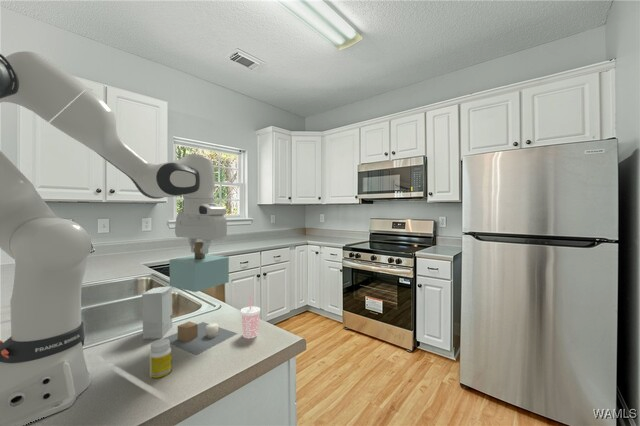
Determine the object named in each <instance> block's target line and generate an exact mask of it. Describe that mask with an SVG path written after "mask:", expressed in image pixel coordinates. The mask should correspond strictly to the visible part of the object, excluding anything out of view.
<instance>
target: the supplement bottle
mask: <svg viewBox="0 0 640 426" xmlns="http://www.w3.org/2000/svg"><path fill="white" fill-rule="evenodd" d="M170 345H171V344H170V340H169V339H163V338H159V339H157V340H155V341H153V342H151V343H150V351H149V354H148V358H149V359H148V364H149V365H148V371H149V372H148V374H149V378H151V379H162V378H164V377H166V376H169V375H170V374H171V372H172V360H173V359H172V355H173V353H172V347H170Z"/></svg>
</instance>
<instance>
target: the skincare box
mask: <svg viewBox="0 0 640 426" xmlns="http://www.w3.org/2000/svg"><path fill="white" fill-rule="evenodd" d="M141 295H142V296H141V300H142V303H141V304H142V306H141V307H142V310H141V311H142V340H152V339H163V338H165V336H166V334H167V333H168V332H169V331H170V330H171V329H172V328H173V300H172V296H173V295H172V286H159V287H153V288H151V289H149V290H147V291H145V292H143V293H142V294H141Z"/></svg>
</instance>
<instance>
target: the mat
mask: <svg viewBox="0 0 640 426" xmlns="http://www.w3.org/2000/svg"><path fill="white" fill-rule="evenodd" d="M238 334H239V333H238V332H235V331H231V330H228V329H226V328H222V327H219V324H218V323H216V322H215V323H214V322H213V323H207V322H204V321H202V322H201V323H196V322H193V321H187V322H185V323H182V324H179V325H177V332H176V333H173V334H171V335H168V336H167V337H163V338H162V339H169V340H170V345H171V346H173V347H176V348H178V349H181V350H184V352H185V351H186V352H187V353H190V354H193V355H195V356H197V355H200V354H201V353H204V352H205V351H208V350H210V349H211V348H213V347H214V346H217V345H219V344H221V343H223V342H225V341H226V340H228V339H230V338H232V337H234V336H236V335H238Z"/></svg>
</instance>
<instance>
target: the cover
mask: <svg viewBox="0 0 640 426" xmlns="http://www.w3.org/2000/svg"><path fill="white" fill-rule="evenodd" d="M203 244H204V243H202V241H196V242H195V243H194V247H195V253H194V255H189V256H182V257H178V258H172V259H169V287H171V288H176V289H180V290H185V291H189V292H193V293H197V292H200V291H204V290H207V289H211V288H213V287H218V286H222V285H224V284H227V283H229V281H230V279H229V278H230V277H229V276H230V274H229V271H230V270H229V269H230V268H229V267H230V265H229V263H230V260H229V259H230V257H228V256H222V255H214V254H209V253H208V254H201V253H200V252H201V251H200V248H202V247H203Z"/></svg>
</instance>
